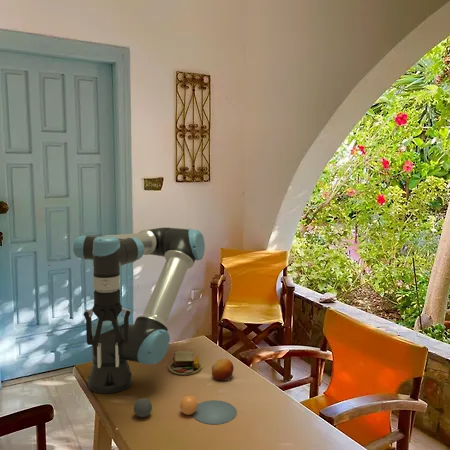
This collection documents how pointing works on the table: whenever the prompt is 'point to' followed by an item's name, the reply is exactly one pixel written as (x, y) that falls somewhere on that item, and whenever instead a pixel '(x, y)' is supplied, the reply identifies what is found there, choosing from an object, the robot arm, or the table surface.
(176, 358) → the toy sandwich meal
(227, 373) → the fruit
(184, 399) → the orange ball
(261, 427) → the table surface
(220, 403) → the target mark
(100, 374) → the robot arm
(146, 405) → the dark grey ball
